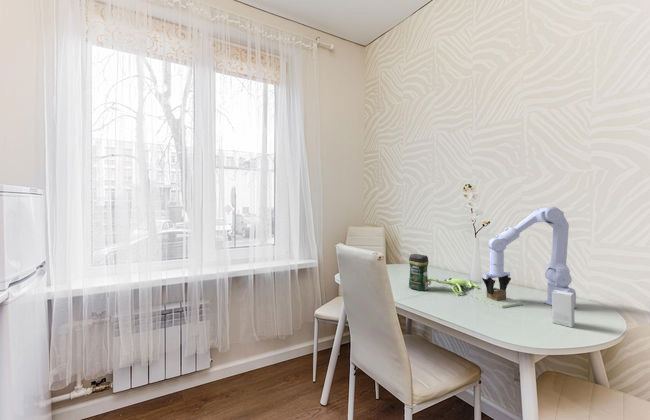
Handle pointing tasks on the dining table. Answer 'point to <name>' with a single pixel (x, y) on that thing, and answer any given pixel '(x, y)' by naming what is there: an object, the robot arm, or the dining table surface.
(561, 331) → the dining table surface
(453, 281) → the figurine
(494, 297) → the collar
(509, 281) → the robot arm
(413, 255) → the coffee jar
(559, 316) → the skincare box
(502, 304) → the board
